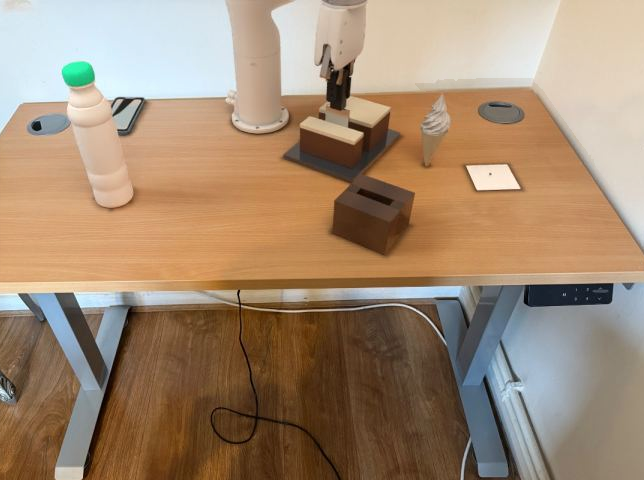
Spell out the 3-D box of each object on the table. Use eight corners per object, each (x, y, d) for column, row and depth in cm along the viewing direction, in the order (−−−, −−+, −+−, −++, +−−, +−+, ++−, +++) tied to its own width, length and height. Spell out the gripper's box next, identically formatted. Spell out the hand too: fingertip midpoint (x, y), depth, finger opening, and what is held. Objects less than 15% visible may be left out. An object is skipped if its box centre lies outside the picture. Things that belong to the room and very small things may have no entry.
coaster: (520, 188, 98) (522, 185, 97) (477, 190, 98) (478, 186, 98) (507, 164, 103) (508, 160, 103) (465, 165, 104) (466, 162, 103)
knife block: (331, 233, 91) (334, 200, 86) (357, 206, 96) (361, 173, 91) (384, 255, 87) (390, 222, 82) (408, 225, 92) (415, 192, 87)
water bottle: (101, 214, 97) (57, 80, 78) (91, 193, 101) (48, 62, 83) (139, 202, 99) (104, 69, 81) (128, 182, 103) (92, 52, 85)
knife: (322, 148, 107) (325, 69, 96) (327, 143, 108) (330, 65, 97) (343, 155, 105) (349, 76, 94) (348, 150, 106) (355, 71, 95)
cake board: (283, 158, 107) (283, 154, 107) (334, 116, 118) (334, 112, 118) (353, 183, 101) (353, 179, 100) (400, 136, 112) (400, 132, 111)
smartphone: (95, 131, 115) (115, 96, 125) (96, 135, 116) (116, 100, 126) (128, 132, 115) (146, 97, 125) (129, 136, 115) (147, 101, 125)
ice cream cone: (439, 174, 102) (457, 100, 91) (412, 171, 103) (427, 98, 92) (439, 159, 105) (456, 86, 95) (413, 157, 106) (427, 85, 95)
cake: (317, 134, 111) (318, 108, 107) (337, 118, 116) (339, 92, 111) (369, 151, 106) (372, 124, 102) (387, 134, 111) (391, 107, 106)
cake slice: (299, 150, 107) (299, 123, 103) (309, 142, 109) (309, 115, 105) (352, 169, 102) (354, 141, 98) (361, 160, 104) (363, 132, 100)
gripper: (348, -26, 92) (341, 78, 105) (298, 2, 83) (297, 112, 96) (388, -19, 89) (375, 87, 102) (340, 11, 80) (333, 123, 93)
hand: (338, 98), depth 99 cm, fingers closed on knife, 2 cm apart
